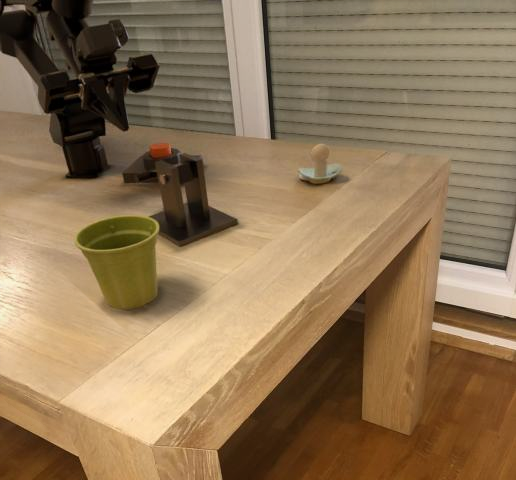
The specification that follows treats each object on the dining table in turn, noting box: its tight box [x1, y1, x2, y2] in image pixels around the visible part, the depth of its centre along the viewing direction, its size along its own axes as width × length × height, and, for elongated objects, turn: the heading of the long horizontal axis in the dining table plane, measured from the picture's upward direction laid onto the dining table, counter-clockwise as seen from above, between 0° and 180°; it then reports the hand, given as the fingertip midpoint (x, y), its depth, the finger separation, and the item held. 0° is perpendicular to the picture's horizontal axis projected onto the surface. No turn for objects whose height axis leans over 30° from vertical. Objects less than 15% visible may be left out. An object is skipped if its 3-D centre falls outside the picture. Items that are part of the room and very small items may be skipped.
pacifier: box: [297, 143, 343, 185], centre depth 93 cm, size 7×6×6 cm
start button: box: [149, 142, 172, 158], centre depth 99 cm, size 4×4×2 cm
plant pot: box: [73, 214, 159, 310], centre depth 65 cm, size 9×9×9 cm
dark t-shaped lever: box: [134, 163, 194, 185], centre depth 82 cm, size 11×6×2 cm, turn 38°
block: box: [121, 147, 204, 184], centre depth 101 cm, size 12×9×4 cm
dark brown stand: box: [148, 152, 239, 248], centre depth 81 cm, size 11×10×10 cm
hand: (126, 129), depth 86 cm, fingers closed
